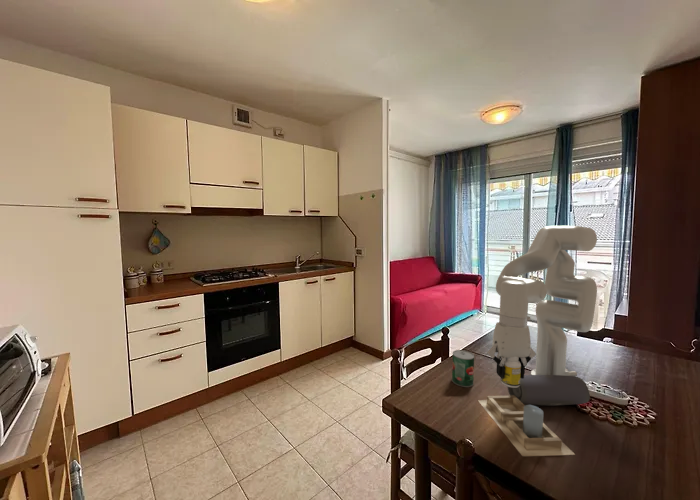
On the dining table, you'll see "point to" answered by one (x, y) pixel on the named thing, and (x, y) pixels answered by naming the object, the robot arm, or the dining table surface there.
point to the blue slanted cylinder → (532, 421)
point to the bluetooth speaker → (551, 390)
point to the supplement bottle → (512, 372)
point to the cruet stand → (511, 423)
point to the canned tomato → (463, 368)
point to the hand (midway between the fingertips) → (510, 375)
